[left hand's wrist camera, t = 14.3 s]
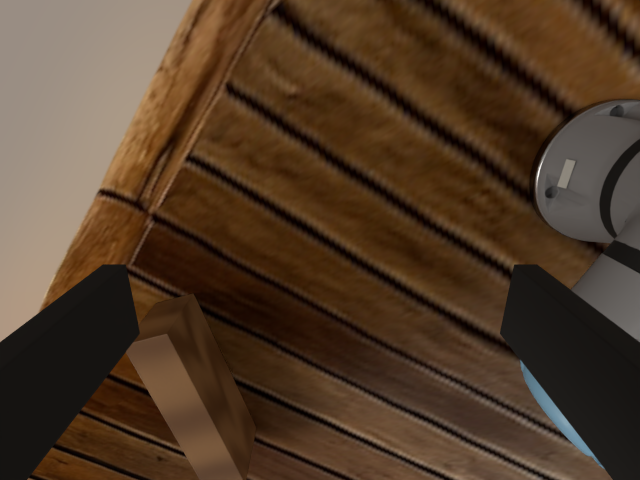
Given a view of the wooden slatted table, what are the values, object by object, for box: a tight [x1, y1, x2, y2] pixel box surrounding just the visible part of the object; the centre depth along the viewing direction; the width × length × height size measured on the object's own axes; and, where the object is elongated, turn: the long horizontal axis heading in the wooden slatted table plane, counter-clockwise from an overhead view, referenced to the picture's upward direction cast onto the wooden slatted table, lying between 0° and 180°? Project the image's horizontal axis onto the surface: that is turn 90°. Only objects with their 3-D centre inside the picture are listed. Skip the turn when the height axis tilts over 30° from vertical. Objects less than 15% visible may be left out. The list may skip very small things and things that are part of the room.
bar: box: [126, 293, 256, 480], centre depth 47 cm, size 24×5×9 cm, turn 16°
